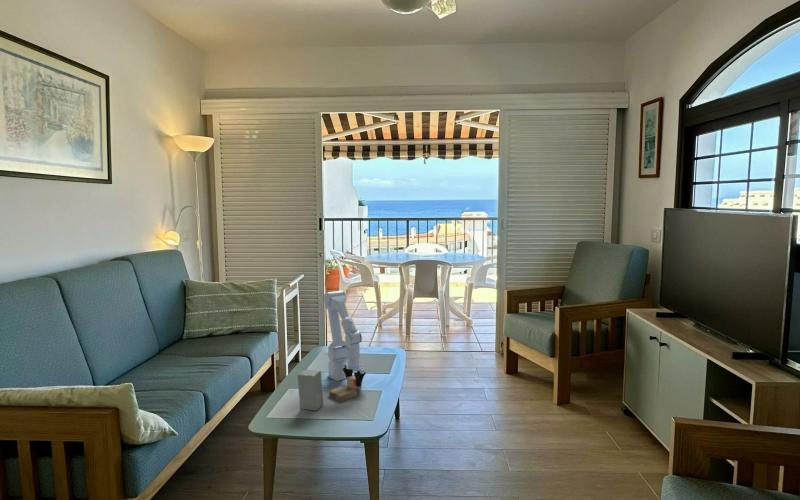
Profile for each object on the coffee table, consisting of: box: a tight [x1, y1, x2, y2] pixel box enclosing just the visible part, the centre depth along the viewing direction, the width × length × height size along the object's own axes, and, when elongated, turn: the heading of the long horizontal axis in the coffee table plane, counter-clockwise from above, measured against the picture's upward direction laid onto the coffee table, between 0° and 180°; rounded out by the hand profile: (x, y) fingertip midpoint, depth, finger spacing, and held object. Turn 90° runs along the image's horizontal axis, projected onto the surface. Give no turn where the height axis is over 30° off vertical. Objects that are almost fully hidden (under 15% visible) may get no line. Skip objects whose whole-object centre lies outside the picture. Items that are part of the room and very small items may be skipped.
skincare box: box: [296, 368, 324, 411], centre depth 198 cm, size 8×7×16 cm
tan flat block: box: [328, 384, 358, 403], centre depth 210 cm, size 9×9×3 cm
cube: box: [346, 374, 363, 390], centre depth 220 cm, size 5×5×5 cm
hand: (354, 384), depth 220 cm, fingers open, 7 cm apart
